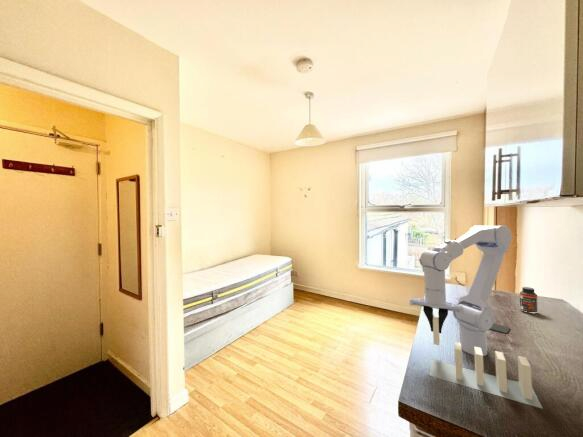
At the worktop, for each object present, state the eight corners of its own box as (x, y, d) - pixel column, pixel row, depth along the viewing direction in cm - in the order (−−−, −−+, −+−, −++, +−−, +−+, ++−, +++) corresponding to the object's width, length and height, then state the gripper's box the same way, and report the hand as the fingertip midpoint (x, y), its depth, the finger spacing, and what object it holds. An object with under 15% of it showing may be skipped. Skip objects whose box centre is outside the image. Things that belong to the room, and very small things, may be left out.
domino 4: (519, 386, 61) (517, 355, 61) (527, 388, 60) (525, 357, 60) (523, 397, 57) (522, 364, 57) (532, 400, 57) (530, 366, 57)
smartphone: (507, 333, 91) (461, 321, 102) (507, 336, 91) (461, 323, 102) (510, 327, 95) (466, 316, 107) (510, 330, 95) (466, 318, 107)
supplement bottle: (521, 312, 111) (520, 288, 111) (518, 308, 116) (517, 285, 116) (539, 315, 107) (538, 290, 108) (535, 311, 112) (534, 287, 113)
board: (431, 363, 74) (431, 359, 74) (531, 390, 61) (531, 385, 61) (429, 379, 66) (429, 375, 66) (543, 413, 54) (542, 408, 54)
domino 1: (455, 369, 68) (454, 342, 69) (462, 371, 68) (460, 343, 68) (456, 378, 65) (455, 349, 65) (462, 380, 64) (461, 350, 64)
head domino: (434, 338, 77) (433, 313, 78) (439, 339, 77) (438, 314, 77) (433, 344, 74) (432, 318, 74) (439, 345, 73) (438, 319, 73)
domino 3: (496, 380, 64) (495, 350, 64) (503, 382, 63) (502, 352, 63) (499, 390, 60) (498, 358, 60) (507, 392, 59) (505, 360, 59)
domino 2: (475, 375, 66) (474, 346, 66) (482, 376, 65) (480, 347, 65) (476, 384, 62) (475, 353, 62) (484, 386, 62) (482, 355, 62)
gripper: (408, 288, 76) (409, 330, 76) (463, 295, 68) (465, 342, 68) (410, 283, 82) (412, 322, 82) (462, 289, 74) (463, 332, 74)
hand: (436, 331), depth 75 cm, fingers closed on head domino, 1 cm apart
